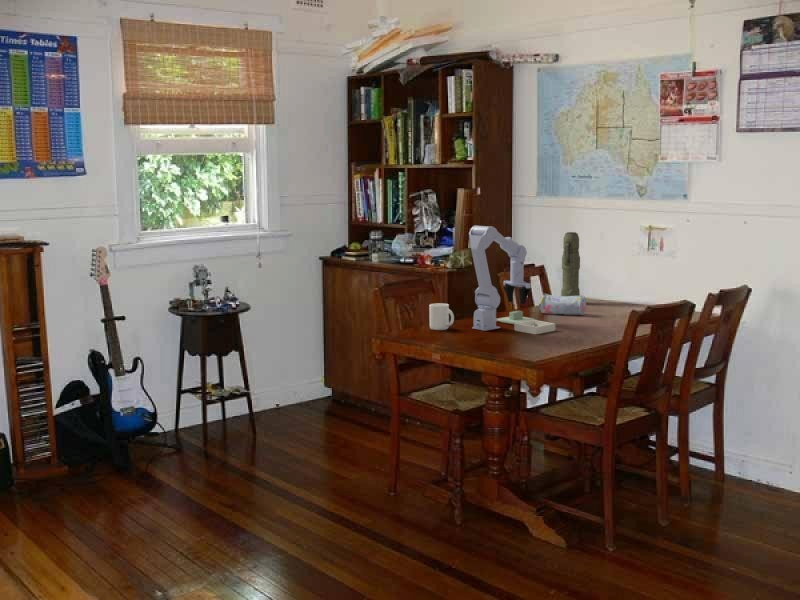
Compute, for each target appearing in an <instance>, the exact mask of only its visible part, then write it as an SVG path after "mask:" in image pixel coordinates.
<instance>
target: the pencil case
mask: <svg viewBox="0 0 800 600" xmlns="http://www.w3.org/2000/svg"><path fill="white" fill-rule="evenodd" d="M538 307H539V309H540V312H541V313H542V314H545V315H557V314H564V316H566V315H567V316H576V315H577V316H584V315H585V312H586V310H587V299H586V297H585V296H584V295H580V296H561V295H553V294H548V293H543V294H542V295H541V297H540V303H538Z"/></svg>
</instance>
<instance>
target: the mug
mask: <svg viewBox="0 0 800 600" xmlns="http://www.w3.org/2000/svg"><path fill="white" fill-rule="evenodd" d="M449 307H450V304H448V303H443V302H442V303H441V302H440V303H439V302H438V303H430V304H429V309H428V310H429V312H428V313H429V329H430V330H434V331H446V330H448V329H449V327H450V326H452V325H453V324H454V321H455V314H454V312H453V311H452V310H451V309H450V308H449Z"/></svg>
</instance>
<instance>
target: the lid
mask: <svg viewBox="0 0 800 600" xmlns="http://www.w3.org/2000/svg"><path fill="white" fill-rule="evenodd" d="M508 313H509V315H508V316H505V317H499V318H496V322H500V323H503V324H510V325H514V323H519V322H525V321H530V320H537V318H533V317H527V316H524V311H522V310H515V311H510V312H508Z"/></svg>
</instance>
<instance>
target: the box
mask: <svg viewBox="0 0 800 600" xmlns="http://www.w3.org/2000/svg"><path fill="white" fill-rule="evenodd" d="M513 325H514V330H513V331H515V332H520V333H525V334H532V335H540V334H545V333H550V332H551V333H552V332H555V331H556V323H554V322H547V321H543V320H537V319H536V320H530V321H525V322H519V323H514V324H513Z"/></svg>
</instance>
